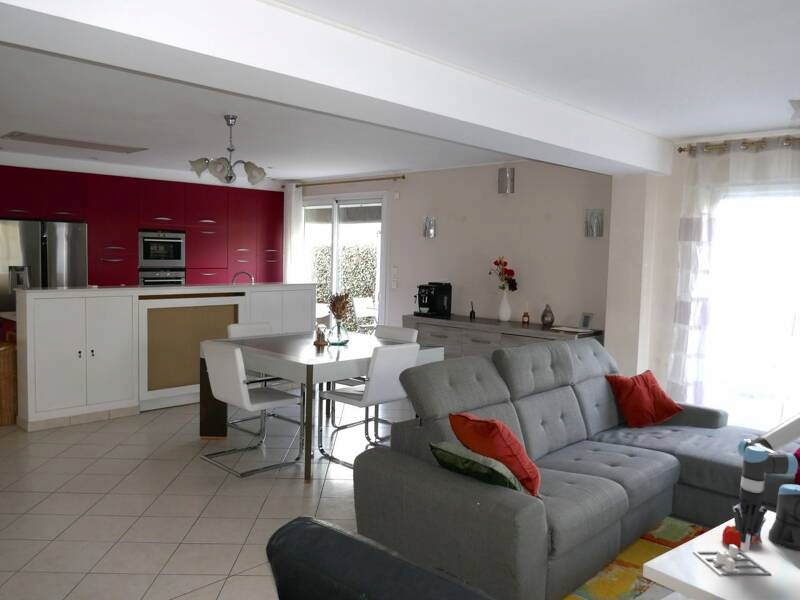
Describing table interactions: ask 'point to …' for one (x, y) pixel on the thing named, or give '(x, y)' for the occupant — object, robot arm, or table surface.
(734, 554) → the tab
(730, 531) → the tomato
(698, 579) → the table surface
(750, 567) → the switch bank
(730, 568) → the tab
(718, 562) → the tab
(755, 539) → the mug
